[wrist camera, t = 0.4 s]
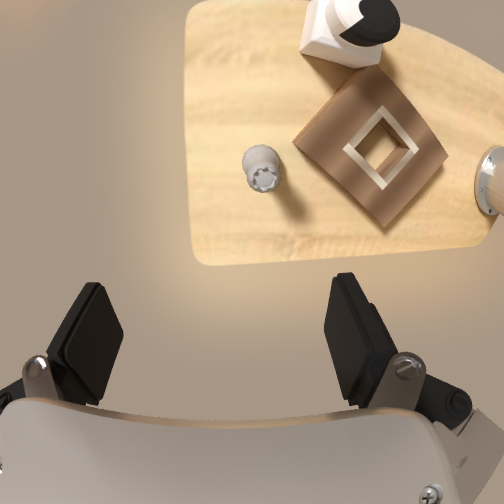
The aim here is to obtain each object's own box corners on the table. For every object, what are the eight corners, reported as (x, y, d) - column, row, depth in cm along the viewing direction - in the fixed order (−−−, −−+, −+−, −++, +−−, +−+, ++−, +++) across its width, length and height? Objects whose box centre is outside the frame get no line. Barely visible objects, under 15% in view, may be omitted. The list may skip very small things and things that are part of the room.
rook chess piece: (276, 181, 34) (283, 204, 27) (240, 176, 33) (237, 199, 26) (281, 146, 31) (291, 160, 24) (244, 141, 31) (243, 153, 24)
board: (436, 150, 31) (448, 155, 28) (375, 218, 36) (384, 227, 34) (363, 63, 25) (373, 61, 23) (292, 141, 31) (296, 145, 28)
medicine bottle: (363, 22, 22) (412, -2, 12) (355, 69, 26) (405, 60, 16) (307, 5, 22) (335, -34, 11) (298, 53, 25) (324, 29, 15)
